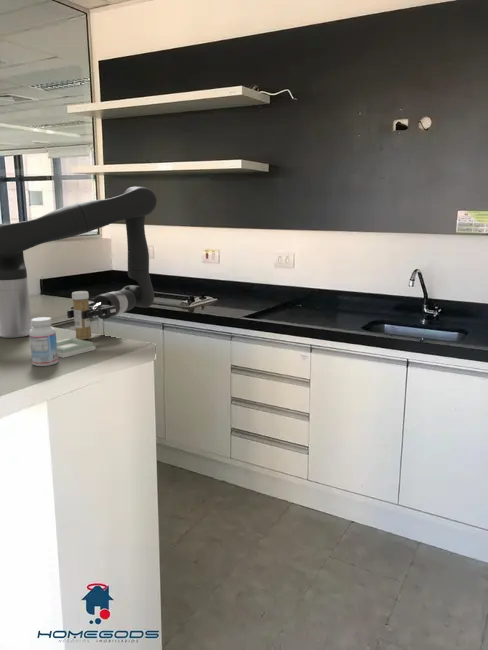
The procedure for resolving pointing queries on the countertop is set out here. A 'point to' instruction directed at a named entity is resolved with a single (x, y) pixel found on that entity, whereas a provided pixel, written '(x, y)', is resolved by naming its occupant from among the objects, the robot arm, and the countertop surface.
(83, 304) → the sprinkles bottle
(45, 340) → the pill bottle
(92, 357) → the countertop surface
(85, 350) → the socket plate
